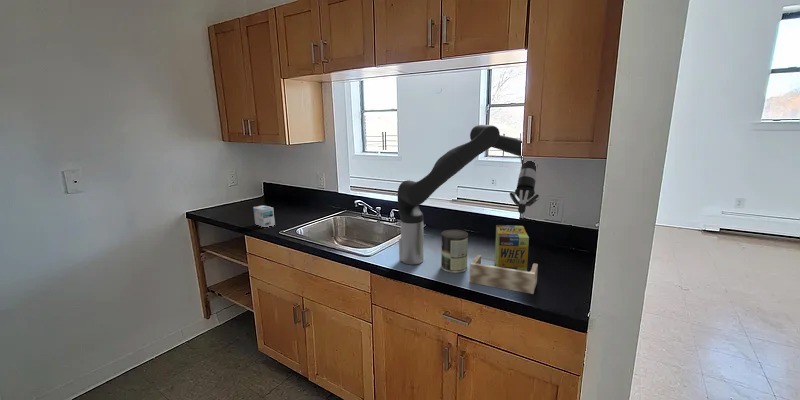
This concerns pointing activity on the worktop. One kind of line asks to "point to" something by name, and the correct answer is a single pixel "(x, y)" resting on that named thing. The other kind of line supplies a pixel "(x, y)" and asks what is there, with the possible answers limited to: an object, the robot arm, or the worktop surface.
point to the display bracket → (503, 276)
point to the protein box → (511, 247)
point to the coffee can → (454, 250)
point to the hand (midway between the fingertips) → (521, 212)
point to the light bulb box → (264, 216)
